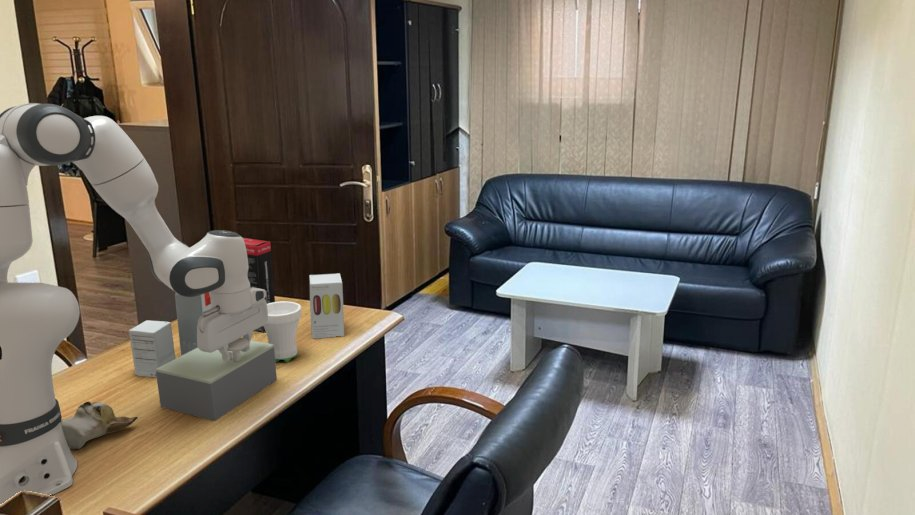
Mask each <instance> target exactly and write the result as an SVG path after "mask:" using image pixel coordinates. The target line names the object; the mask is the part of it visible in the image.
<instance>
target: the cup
mask: <svg viewBox="0 0 915 515" xmlns="http://www.w3.org/2000/svg"><path fill="white" fill-rule="evenodd" d="M267 309H268V320H267V323H266V324H265V325H263V326H264V328H265V333H266V336H267V343H268V344H273V345H274V352H275V363H278V362H279V361H281V360H283V361H284V362H287V363H288V362H290V361H291V359H296V358H297V357H298V354H299V353H298V345H297V329H298V324H299V321H300V319H301V317H302V305H301V304H299V303H298V302H294V301H285V300H283V301H282V300H281V301H280V300H279V301H275V302H273V303H268V304H267Z"/></svg>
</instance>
